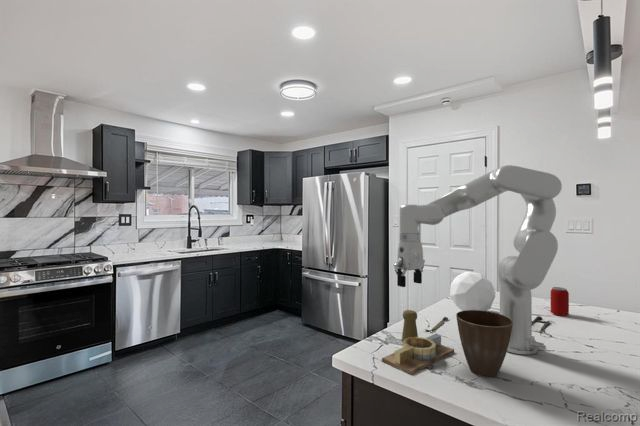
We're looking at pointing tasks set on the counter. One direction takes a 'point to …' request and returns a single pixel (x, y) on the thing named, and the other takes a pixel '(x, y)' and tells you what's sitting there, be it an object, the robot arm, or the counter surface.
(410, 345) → the ring bracket
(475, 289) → the ball
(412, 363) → the board with octagonal collar
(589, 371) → the counter surface
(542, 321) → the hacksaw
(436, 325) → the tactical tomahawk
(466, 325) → the plant pot
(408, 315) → the cork
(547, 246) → the robot arm
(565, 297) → the beverage can
